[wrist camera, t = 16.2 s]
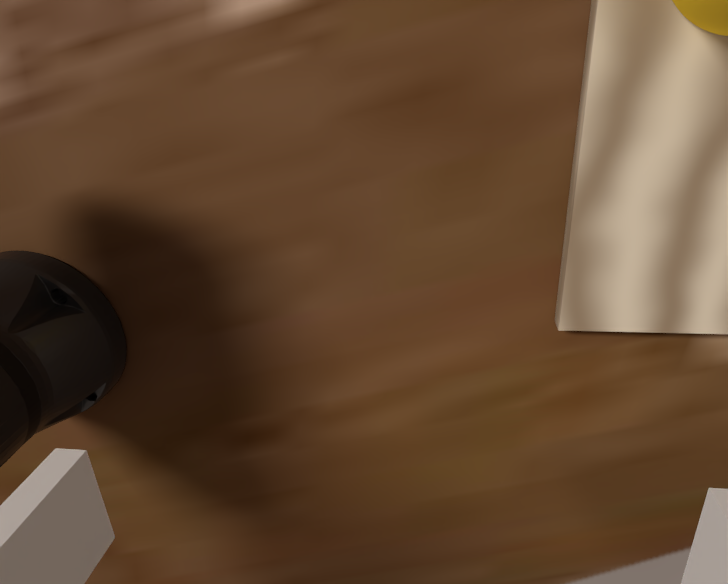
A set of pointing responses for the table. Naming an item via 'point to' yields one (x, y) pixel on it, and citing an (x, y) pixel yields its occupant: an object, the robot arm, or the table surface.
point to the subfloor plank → (648, 177)
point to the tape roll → (706, 14)
